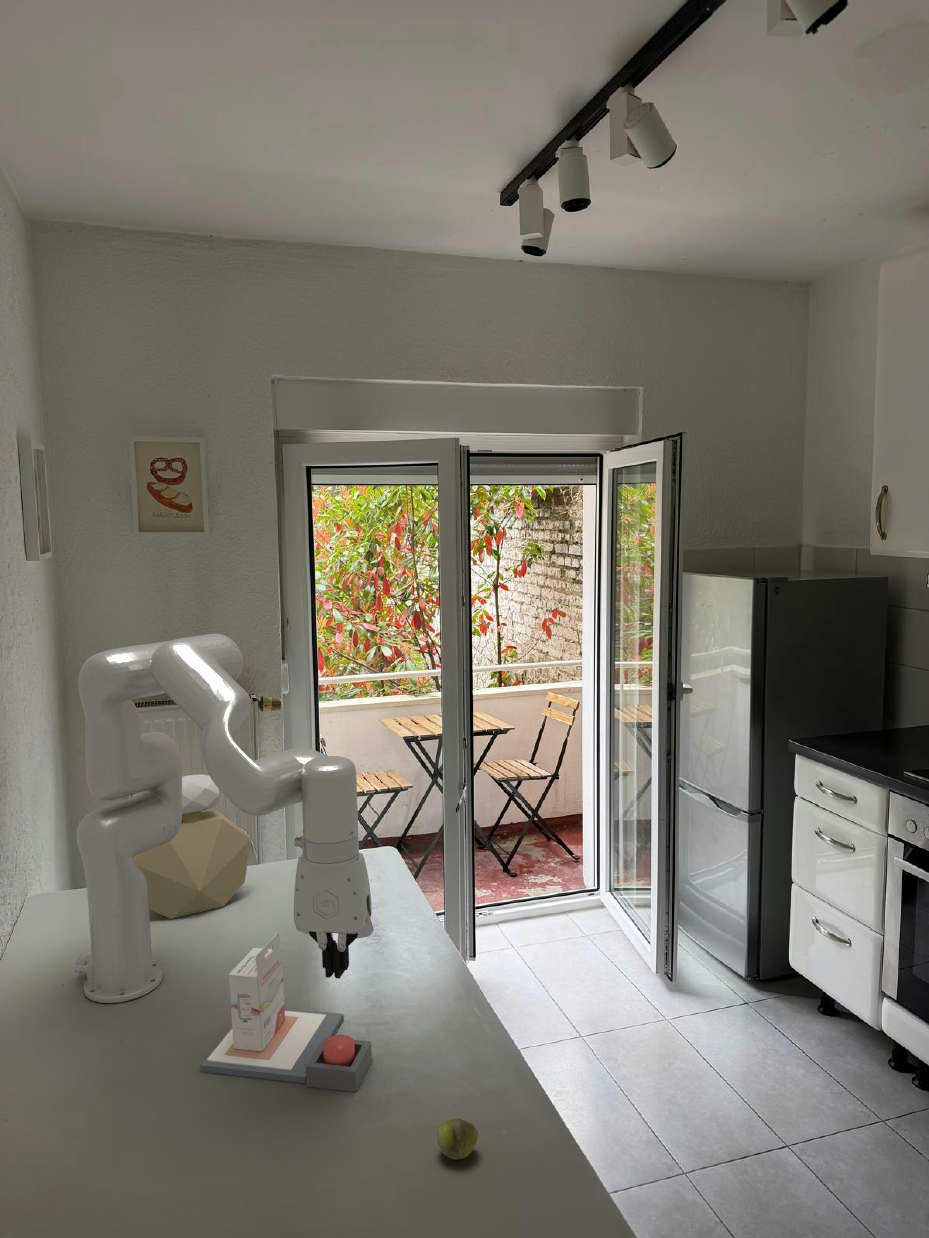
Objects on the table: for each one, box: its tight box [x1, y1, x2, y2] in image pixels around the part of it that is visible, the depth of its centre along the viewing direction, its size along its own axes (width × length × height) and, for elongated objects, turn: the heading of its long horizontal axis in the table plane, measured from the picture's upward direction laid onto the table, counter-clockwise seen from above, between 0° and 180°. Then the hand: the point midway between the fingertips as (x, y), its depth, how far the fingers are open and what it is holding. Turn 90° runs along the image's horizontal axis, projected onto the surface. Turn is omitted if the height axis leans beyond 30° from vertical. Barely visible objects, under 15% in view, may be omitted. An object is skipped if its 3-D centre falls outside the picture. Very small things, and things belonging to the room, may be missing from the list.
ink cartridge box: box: [228, 931, 286, 1051], centre depth 131 cm, size 9×5×15 cm, turn 168°
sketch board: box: [199, 1007, 345, 1085], centre depth 131 cm, size 16×16×1 cm
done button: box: [323, 1034, 355, 1067], centre depth 124 cm, size 4×4×3 cm
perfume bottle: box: [133, 773, 252, 920], centre depth 178 cm, size 12×24×28 cm, turn 121°
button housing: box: [306, 1037, 373, 1093], centre depth 124 cm, size 7×7×3 cm
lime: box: [436, 1118, 479, 1161], centre depth 107 cm, size 4×5×5 cm
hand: (336, 972), depth 122 cm, fingers closed
